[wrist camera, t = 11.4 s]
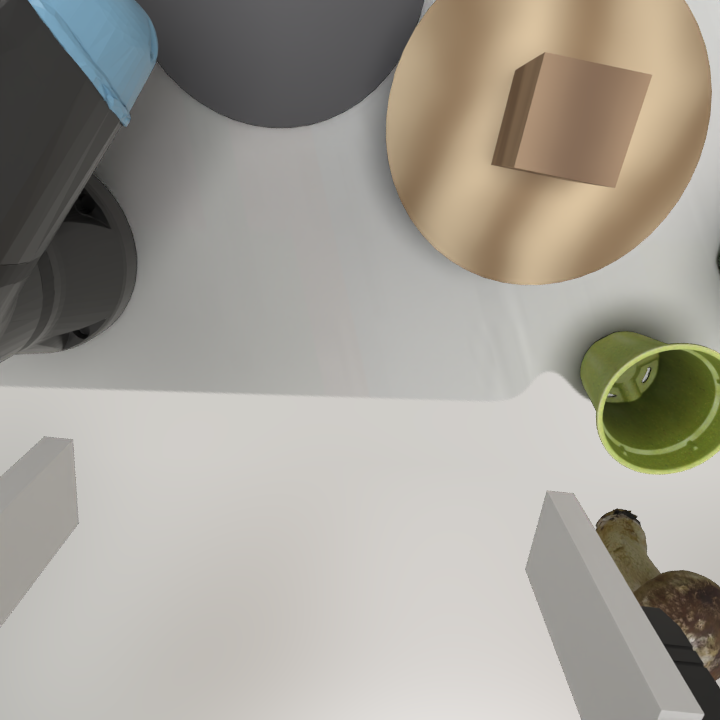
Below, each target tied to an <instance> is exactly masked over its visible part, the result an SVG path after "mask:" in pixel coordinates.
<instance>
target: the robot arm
mask: <svg viewBox="0 0 720 720" xmlns="http://www.w3.org/2000/svg"><path fill="white" fill-rule="evenodd" d="M157 55H158V39H157V35H156V31H155V28H154V26H153V23H152V21H151V19H150V18H149V16H148V15H147V13H146V12H145V11H144V9H143V8H142V7H141V6H140V5H139V4H138V3H137V2H136V1H135V0H0V363H1V362H2V361H4V360H6V359H8V358H9V357H11V356H13V355H17V354H38V353H53V352H59V351H64V350H67V349H71V348H74V347H76V346H79V345H81V344H83V343H85V342H87V341H89V340H90V339H92V338H94V337H95V336H97V335H98V334H100V333H101V332H103V331H104V330H106V329H107V328H108V327H109V326H111V325H112V324H113V323H114V322H115V321H116V320H117V318H118V317H119V316H120V315H121V313H122V312H123V310H124V309H125V307H126V305H127V304H128V301H129V299H130V297H131V294H132V291H133V288H134V284H135V278H136V266H137V262H136V250H135V245H134V240H133V236H132V233H131V230H130V227H129V224H128V222H127V220H126V217H125V215H124V214H123V212H122V210H121V208H120V206H119V205H118V203H117V202H116V200H115V199H114V197H113V196H112V195H111V193H110V192H109V191H108V190H107V188H106V187H105V186H104V185H103V184H102V183H101V182H100V181H99V180H98V179H97V178H96V177H95V176H94V175H92V173H93V172H94V170H95V168H96V167H97V165H98V163H99V162H100V160H101V158H102V157H103V155H104V153H105V152H106V150H107V148H108V147H109V145H110V143H111V142H112V140H113V139H114V137H115V135H116V134H117V132H118V130H119V129H120V127H121V125H123V126H125V127H126V126H127V125H128V124H129V122H130V120H131V117H130V110H131V108H132V107H133V105H134V103H135V101H136V99H137V97H138V95H139V94H140V92H141V90H142V88H143V86H144V84H145V83H146V81H147V79H148V77H149V75H150V73H151V71H152V70H153V68H154V65H155V63H156V59H157ZM78 524H79V523H78V507H77V492H76V477H75V463H74V447H73V440H72V439H63V438H54V437H43V438H42V439H41V440H40V441H39V442H38V443H37V444H36V445H35V446H34V447H33V448H31V449H30V450H29V451H28V452H27V453H26V454H25V455H24V456H23V457H22V458H21V459H19V460H18V461H17V462H16V463H15V464H14V465H13V466H12V467H11V468H10V469H9V470H8V471H6V472H5V473H4V474H3V475H2V476H1V477H0V627H1V626H2V625H3V623H4V622H5V621H6V619H7V618H8V617H9V615H10V614H11V613H12V611H13V610H14V609H15V607H16V606H17V605H18V603H19V602H20V601H21V599H22V598H23V597H24V595H25V594H26V593H27V591H28V590H29V589H30V587H31V586H32V585H33V583H34V582H35V581H36V579H37V578H38V577H39V575H40V574H41V573H42V571H43V570H44V569H45V567H46V566H47V565H48V563H49V562H50V561H51V559H52V558H53V557H54V555H55V554H56V553H57V551H58V550H59V549H60V548H61V546H62V545H63V544H64V542H65V541H66V539H67V538H68V537H69V536H70V534H71V533H72V531H73V530H74V529H75V527H76V526H77V525H78ZM525 570H526V573H527V575H528V578H529V581H530V584H531V586H532V589H533V591H534V594H535V597H536V600H537V602H538V605H539V607H540V610H541V613H542V615H543V618H544V621H545V623H546V626H547V629H548V631H549V634H550V637H551V640H552V642H553V645H554V648H555V650H556V653H557V655H558V658H559V661H560V663H561V666H562V669H563V672H564V674H565V677H566V680H567V682H568V685H569V688H570V690H571V693H572V696H573V698H574V701H575V704H576V706H577V709H578V712H579V714H580V717H581V720H720V688H719V686H718V685H717V683H716V681H715V680H714V678H713V677H712V675H711V674H710V672H709V671H708V669H707V668H704V663H703V661H702V660H701V658H700V657H699V655H698V654H697V652H696V651H693V646H692V645H691V643H690V641H689V640H688V638H687V637H686V635H685V634H684V632H683V631H682V629H681V628H680V626H679V625H678V624H677V623H675V622H674V621H673V620H672V619H671V618H670V617H669V616H668V615H667V614H666V613H665V612H663V611H662V610H661V609H660V608H654V607H645V606H640V604H639V603H638V601H637V599H636V598H635V596H634V594H633V593H632V591H631V589H630V588H629V586H628V584H627V583H626V581H625V579H624V577H623V576H622V574H621V572H620V571H619V569H618V567H617V566H616V564H615V562H614V561H613V559H612V557H611V556H610V554H609V552H608V550H607V549H606V547H605V545H604V544H603V542H602V540H601V539H600V537H599V535H598V534H597V532H596V530H595V529H594V527H593V525H592V524H591V522H590V520H589V518H588V517H587V515H586V513H585V512H584V510H583V508H582V507H581V505H580V503H579V502H578V500H577V498H576V497H575V495H574V494H573V493H565V492H555V491H547V492H546V496H545V499H544V503H543V507H542V510H541V514H540V517H539V521H538V525H537V528H536V532H535V535H534V539H533V543H532V547H531V550H530V554H529V557H528V561H527V565H526V568H525Z"/></svg>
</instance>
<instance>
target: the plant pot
mask: <svg viewBox="0 0 720 720" xmlns="http://www.w3.org/2000/svg"><path fill="white" fill-rule="evenodd" d="M649 367H650V368H651V372H650V374H649V378H648V379H647V381H646V382H645V383H642V379H643V378H644V376H645V374H646V371H647V368H649ZM580 376H581V380H582V384H583V386H584V388H585V390H586V392H587V394H588V396H589V398H590V400H591V402H592V404H593V406H594V408H595V410H596V425H597V430H598V434H599V437H600V440H601V442H602V444H603V445H604V447H605V449H606V450H607V452H608V453H609V454H610V455H611V456H612V457H613V458H614V459H615V460H616V461H618V462H619V463H620V464H622V465H623V466H625V467H627V468H629V469H632V470H634V471H637V472H641V473H647V474H657V475H661V474H671V473H677V472H682V471H685V470H688V469H691V468H693V467H695V466H698V465H700V464H702V463H704V462H705V461H706V460H708V459H709V458H711V457H712V456H713V455H715V454H716V453H717V452H718V451H720V353H718V352H716V351H714V350H712V349H710V348H707V347H704V346H701V345H696V344H688V343H674V344H667V343H663V342H661V341H658V340H655V339H652V338H649V337H647V336H644V335H641V334H638V333H634V332H628V331H623V332H615V333H612V334H610V335H609V336H607V337H605V338H603V339H601V340H599V341H597V342H595V343H594V344H593V345H592V346H591V347H590V348H589V350H588V351H587V352H586V354H585V356H584V358H583V361H582V364H581V370H580ZM608 393H610V394H613V395H616V396H614V397H607V396H608Z"/></svg>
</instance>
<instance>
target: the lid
mask: <svg viewBox="0 0 720 720" xmlns="http://www.w3.org/2000/svg"><path fill="white" fill-rule="evenodd" d="M711 95H712V89H711V74H710V65H709V60H708V55H707V51H706V46H705V43H704V40H703V37H702V34H701V32H700V29H699V26H698V24H697V22H696V20H695V18H694V16H693V14H692V12H691V10H690V8H689V6H688V4H687V3H686V2H685V0H436V1H435V2H434V3H433V5H432V6H431V7H430V8H429V9H428V11H427V12H426V14H425V15H424V16H423V18H422V19H421V21H420V22H419V24H418V25H417V27H416V28H415V30H414V32H413V33H412V35H411V37H410V39H409V41H408V43H407V45H406V47H405V49H404V51H403V53H402V56H401V58H400V61H399V64H398V66H397V69H396V71H395V75H394V79H393V83H392V87H391V91H390V95H389V101H388V109H387V116H386V145H387V154H388V162H389V166H390V170H391V174H392V178H393V182H394V185H395V187H396V190H397V192H398V195H399V198H400V200H401V202H402V204H403V206H404V208H405V210H406V211H407V213H408V215H409V217H410V219H411V220H412V222H413V223H414V224H415V226H416V227H417V228H418V230H419V231H420V233H421V234H422V235H423V236H424V237H425V238H426V239H427V240H428V241H429V242H430V243H431V245H432V246H433V247H434V248H435V249H436V250H438V251H439V252H440V253H442V254H443V255H444V256H445V257H447V258H448V259H449V260H450V261H452V262H454V263H455V264H457V265H459V266H461V267H462V268H464V269H466V270H468V271H470V272H472V273H475V274H477V275H480V276H482V277H484V278H488V279H492V280H496V281H499V282H504V283H511V284H519V285H543V284H551V283H558V282H563V281H567V280H571V279H575V278H579V277H582V276H584V275H587V274H589V273H592V272H594V271H597V270H599V269H601V268H603V267H605V266H607V265H609V264H611V263H613V262H614V261H616V260H618V259H619V258H621V257H622V256H624V255H625V254H627V253H628V252H630V251H631V250H632V249H634V248H635V247H636V246H637V245H639V244H640V243H641V242H642V241H643V240H644V239H646V238H647V237H648V236H649V235H650V234H651V233H652V232H653V231H654V230H655V229H656V228H657V227H658V226H659V225H660V223H661V222H662V221H663V220H664V219H665V218H666V217H667V215H668V214H669V213H670V211H671V210H672V209H673V207H674V206H675V205H676V203H677V202H678V200H679V199H680V197H681V195H682V194H683V192H684V190H685V188H686V187H687V185H688V183H689V182H690V180H691V177H692V175H693V173H694V171H695V168H696V166H697V164H698V161H699V159H700V156H701V152H702V149H703V146H704V143H705V140H706V135H707V130H708V125H709V119H710V111H711Z"/></svg>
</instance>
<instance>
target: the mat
mask: <svg viewBox="0 0 720 720" xmlns="http://www.w3.org/2000/svg"><path fill="white" fill-rule="evenodd" d="M135 1H136V2H137V3H138V4H139V5H140V6H141V7H142V8H143V9H144V11H145V12H146V13H147V15H148V16H149V18H150V19H151V21H152V23H153V26H154V28H155V31H156V35H157V39H158V55H157V59H156V60H157V61H158V62H159V64H160V65H161V66H162V67H163V69H164V70H165V71H166V72H167V74H168V75H169V76H170V77H171V78H172V79H173V80H174V81H175V82H176V83H177V84H178V85H179V86H180V87H181V88H182V89H183V90H185V91H186V92H187V93H188V94H190V95H191V96H192V97H194V98H195V99H196V100H197V101H199V102H200V103H202V104H204V105H205V106H207V107H209V108H210V109H212V110H214V111H215V112H217V113H220V114H222V115H224V116H227V117H229V118H231V119H234V120H237V121H240V122H244V123H248V124H251V125H256V126H263V127H270V128H292V127H299V126H306V125H311V124H314V123H318V122H321V121H324V120H327V119H330V118H332V117H334V116H336V115H338V114H341V113H343V112H345V111H346V110H348V109H349V108H351V107H353V106H354V105H356V104H357V103H359V102H360V101H362V100H363V99H364V98H365V97H366V96H368V95H369V94H370V93H371V92H372V91H373V90H375V89H376V88H377V87H378V85H379V84H380V83H381V82H382V81H383V80H384V79H385V78H386V77H387V76H388V74H389V73H390V72H391V70H392V69H393V68H394V66H395V65H396V63H397V62H398V61H399V59H400V58H401V56H402V53H403V51H404V49H405V47H406V45H407V43H408V41H409V39H410V37H411V35H412V33H413V32H414V30H415V27H416V25H417V22H418V20H419V17H420V14H421V10H422V6H423V2H424V0H135Z"/></svg>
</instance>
